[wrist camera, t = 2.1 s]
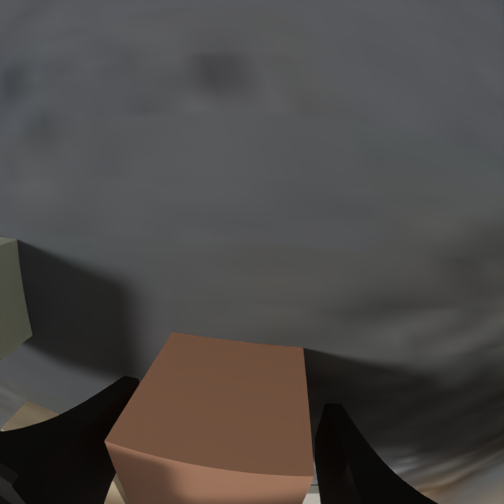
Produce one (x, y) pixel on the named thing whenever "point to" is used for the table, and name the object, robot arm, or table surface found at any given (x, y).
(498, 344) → the table surface
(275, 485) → the terracotta block
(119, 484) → the birch block
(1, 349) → the sage green block
